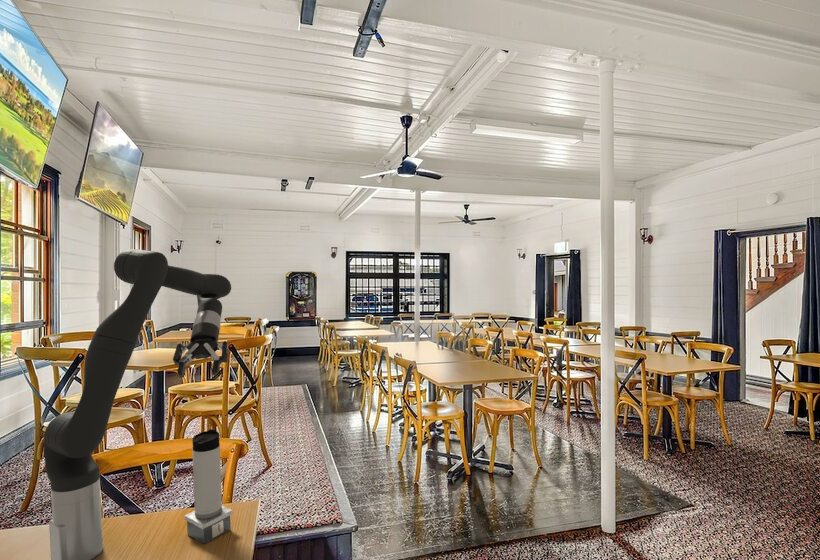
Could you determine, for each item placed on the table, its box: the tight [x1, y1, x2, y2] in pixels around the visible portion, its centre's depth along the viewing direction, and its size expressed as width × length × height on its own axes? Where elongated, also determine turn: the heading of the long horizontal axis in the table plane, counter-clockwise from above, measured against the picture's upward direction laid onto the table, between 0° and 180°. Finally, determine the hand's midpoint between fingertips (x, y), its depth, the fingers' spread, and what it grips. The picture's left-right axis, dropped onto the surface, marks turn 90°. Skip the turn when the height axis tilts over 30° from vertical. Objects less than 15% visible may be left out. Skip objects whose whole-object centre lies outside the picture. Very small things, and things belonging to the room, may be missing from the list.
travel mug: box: [192, 428, 223, 519], centre depth 116 cm, size 6×7×20 cm
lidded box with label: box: [183, 505, 233, 545], centre depth 116 cm, size 8×8×5 cm
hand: (197, 375), depth 129 cm, fingers open, 8 cm apart
